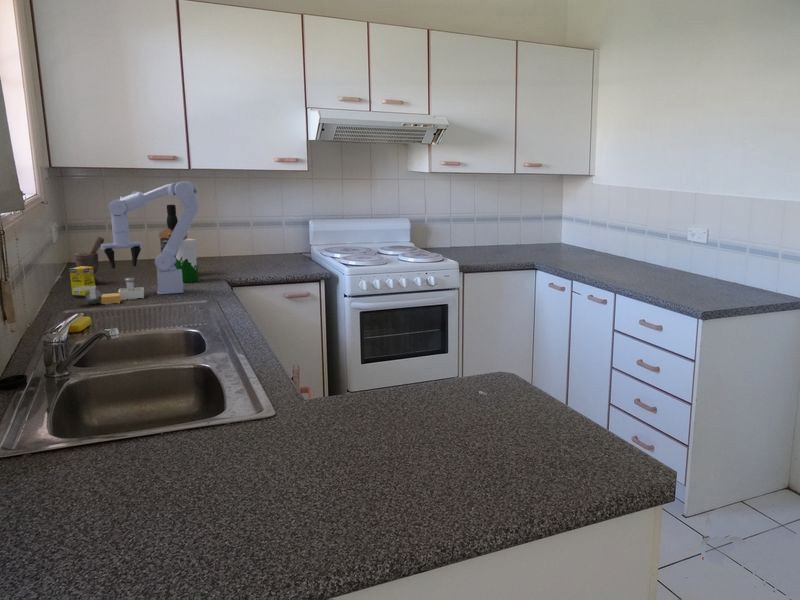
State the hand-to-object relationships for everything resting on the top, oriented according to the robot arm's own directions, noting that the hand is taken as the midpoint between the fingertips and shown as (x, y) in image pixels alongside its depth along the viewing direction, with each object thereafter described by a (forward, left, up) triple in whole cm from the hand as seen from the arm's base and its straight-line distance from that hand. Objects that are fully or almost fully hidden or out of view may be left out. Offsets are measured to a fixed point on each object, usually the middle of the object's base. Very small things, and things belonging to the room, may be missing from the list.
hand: (124, 267), depth 235 cm
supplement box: (+15, -2, -11) cm, 18 cm away
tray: (-2, +9, -10) cm, 14 cm away
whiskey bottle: (-19, -35, -11) cm, 41 cm away
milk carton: (-23, -20, -11) cm, 32 cm away
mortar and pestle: (+14, -28, -11) cm, 33 cm away
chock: (+4, +16, -11) cm, 19 cm away
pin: (-2, +9, -10) cm, 13 cm away
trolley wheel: (+11, +16, -10) cm, 22 cm away
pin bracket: (+5, +9, -10) cm, 14 cm away
